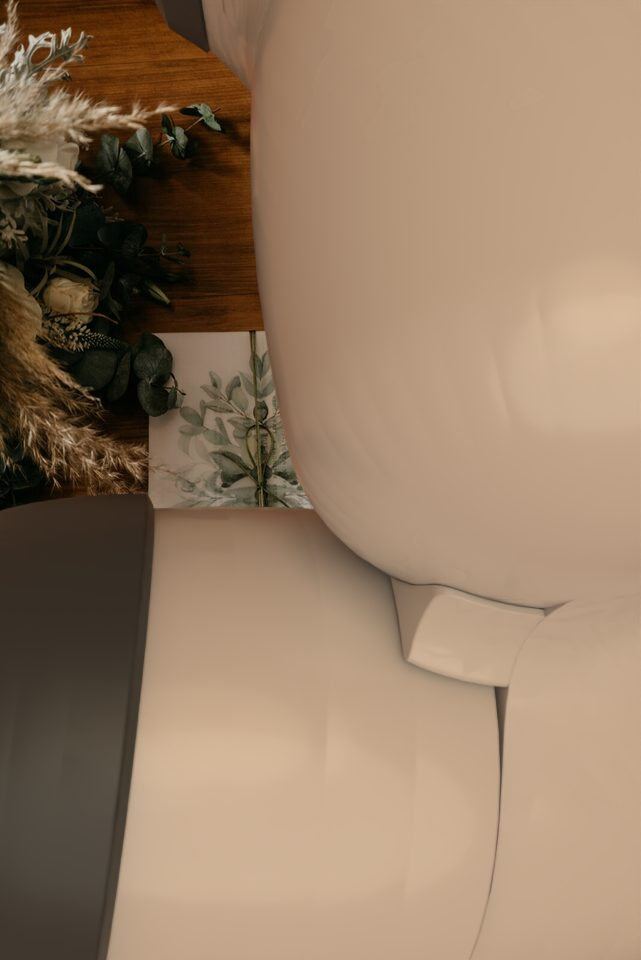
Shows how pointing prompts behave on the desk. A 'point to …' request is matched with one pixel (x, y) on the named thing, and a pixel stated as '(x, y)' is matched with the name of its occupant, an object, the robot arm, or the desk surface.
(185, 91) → the desk surface
